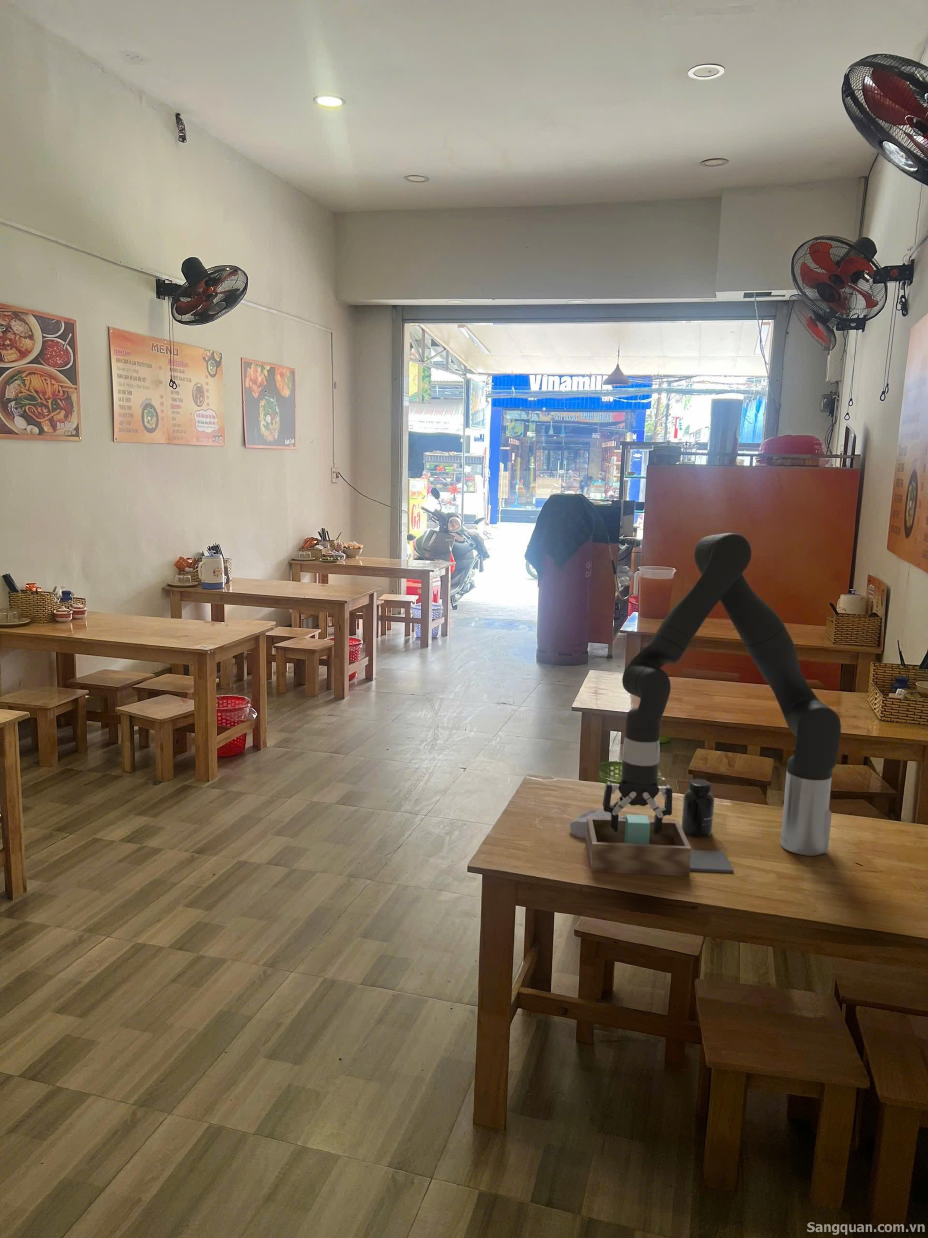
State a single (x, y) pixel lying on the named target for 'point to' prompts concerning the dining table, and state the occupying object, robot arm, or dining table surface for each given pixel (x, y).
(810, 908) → the dining table surface
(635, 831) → the block
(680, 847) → the crate
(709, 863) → the mat
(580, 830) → the stone block
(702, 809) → the supplement bottle
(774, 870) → the dining table surface
